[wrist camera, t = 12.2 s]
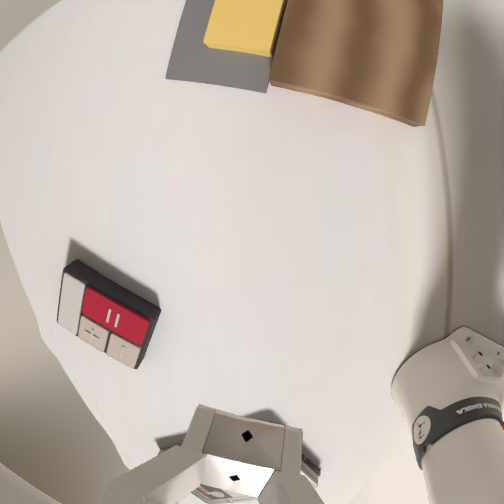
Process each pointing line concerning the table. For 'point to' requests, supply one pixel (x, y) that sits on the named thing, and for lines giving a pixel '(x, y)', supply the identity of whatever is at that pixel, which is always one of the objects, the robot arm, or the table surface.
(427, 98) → the panel
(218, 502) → the hard drive
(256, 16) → the yellow rectangular block
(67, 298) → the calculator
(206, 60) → the mat
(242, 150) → the table surface
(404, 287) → the table surface
